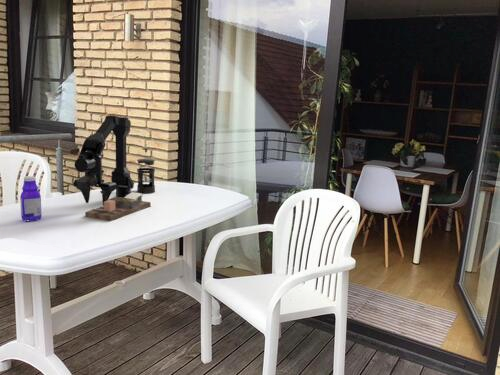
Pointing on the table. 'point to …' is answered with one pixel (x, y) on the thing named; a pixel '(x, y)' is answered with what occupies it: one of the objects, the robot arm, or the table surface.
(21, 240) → the table surface
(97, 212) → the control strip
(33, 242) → the table surface
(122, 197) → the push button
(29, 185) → the bottle
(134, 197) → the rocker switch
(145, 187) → the french press
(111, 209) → the peach tinted cube
